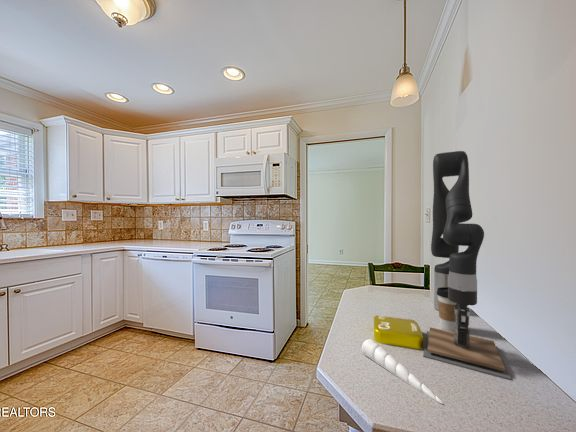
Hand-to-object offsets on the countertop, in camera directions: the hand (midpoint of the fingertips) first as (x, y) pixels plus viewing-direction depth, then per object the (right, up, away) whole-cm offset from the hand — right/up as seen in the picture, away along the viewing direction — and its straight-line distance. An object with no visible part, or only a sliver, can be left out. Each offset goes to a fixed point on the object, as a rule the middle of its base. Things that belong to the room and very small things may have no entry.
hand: (461, 341), depth 79 cm
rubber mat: (0, -3, 0) cm, 3 cm away
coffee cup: (+7, -4, +18) cm, 19 cm away
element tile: (-16, -4, +10) cm, 19 cm away
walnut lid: (0, -2, 0) cm, 2 cm away
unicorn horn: (-25, -3, -12) cm, 28 cm away
